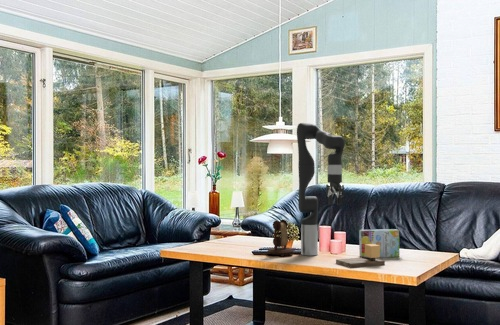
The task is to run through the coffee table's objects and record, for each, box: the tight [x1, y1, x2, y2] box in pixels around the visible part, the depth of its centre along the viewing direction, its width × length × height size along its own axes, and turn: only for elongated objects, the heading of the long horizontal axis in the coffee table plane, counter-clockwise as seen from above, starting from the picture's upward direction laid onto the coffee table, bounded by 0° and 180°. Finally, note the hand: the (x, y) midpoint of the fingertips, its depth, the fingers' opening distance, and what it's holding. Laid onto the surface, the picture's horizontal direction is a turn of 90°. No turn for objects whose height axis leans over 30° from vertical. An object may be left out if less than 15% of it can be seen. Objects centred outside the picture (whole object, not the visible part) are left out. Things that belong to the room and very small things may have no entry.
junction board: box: [335, 256, 386, 269], centre depth 282 cm, size 14×20×9 cm
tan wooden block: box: [365, 244, 381, 259], centre depth 281 cm, size 5×5×6 cm
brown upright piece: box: [267, 219, 294, 258], centre depth 313 cm, size 15×15×20 cm
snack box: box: [358, 228, 400, 258], centre depth 306 cm, size 21×6×15 cm, turn 92°
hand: (334, 204), depth 289 cm, fingers open, 8 cm apart
